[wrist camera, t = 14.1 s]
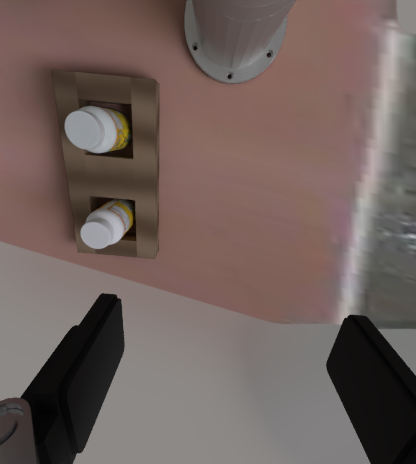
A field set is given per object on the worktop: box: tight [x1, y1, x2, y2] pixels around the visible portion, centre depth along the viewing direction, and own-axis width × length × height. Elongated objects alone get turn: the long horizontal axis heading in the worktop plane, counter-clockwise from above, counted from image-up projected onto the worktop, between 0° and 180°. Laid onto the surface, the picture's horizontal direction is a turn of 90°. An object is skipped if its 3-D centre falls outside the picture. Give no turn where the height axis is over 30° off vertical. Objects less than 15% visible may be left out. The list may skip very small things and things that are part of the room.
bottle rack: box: [51, 70, 159, 259], centre depth 36 cm, size 26×13×3 cm, turn 175°
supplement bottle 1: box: [65, 106, 133, 153], centre depth 31 cm, size 5×5×10 cm
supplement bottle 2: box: [80, 198, 136, 249], centre depth 36 cm, size 5×5×10 cm
